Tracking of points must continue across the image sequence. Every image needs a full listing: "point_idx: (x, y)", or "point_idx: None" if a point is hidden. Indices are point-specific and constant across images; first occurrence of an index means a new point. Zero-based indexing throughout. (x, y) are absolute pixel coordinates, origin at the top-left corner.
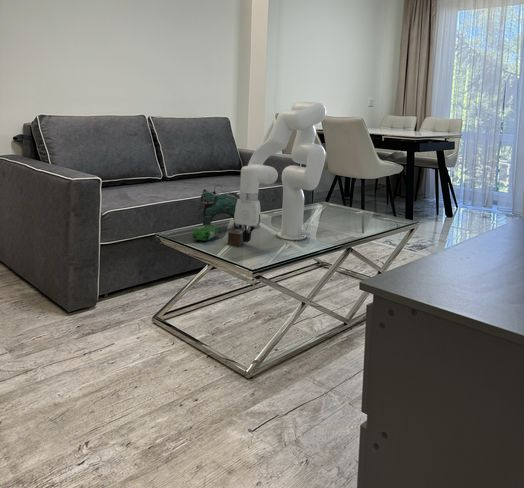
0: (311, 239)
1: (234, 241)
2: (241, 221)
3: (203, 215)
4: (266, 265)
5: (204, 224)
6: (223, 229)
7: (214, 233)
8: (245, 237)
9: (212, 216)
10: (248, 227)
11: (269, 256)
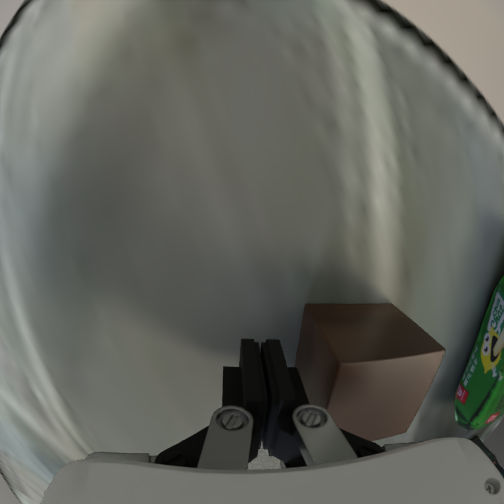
0: None
1: (356, 318)
2: (387, 497)
3: (498, 463)
4: (24, 12)
5: (480, 445)
6: None
7: (481, 369)
8: (265, 371)
9: None
10: (237, 462)
11: (16, 162)
